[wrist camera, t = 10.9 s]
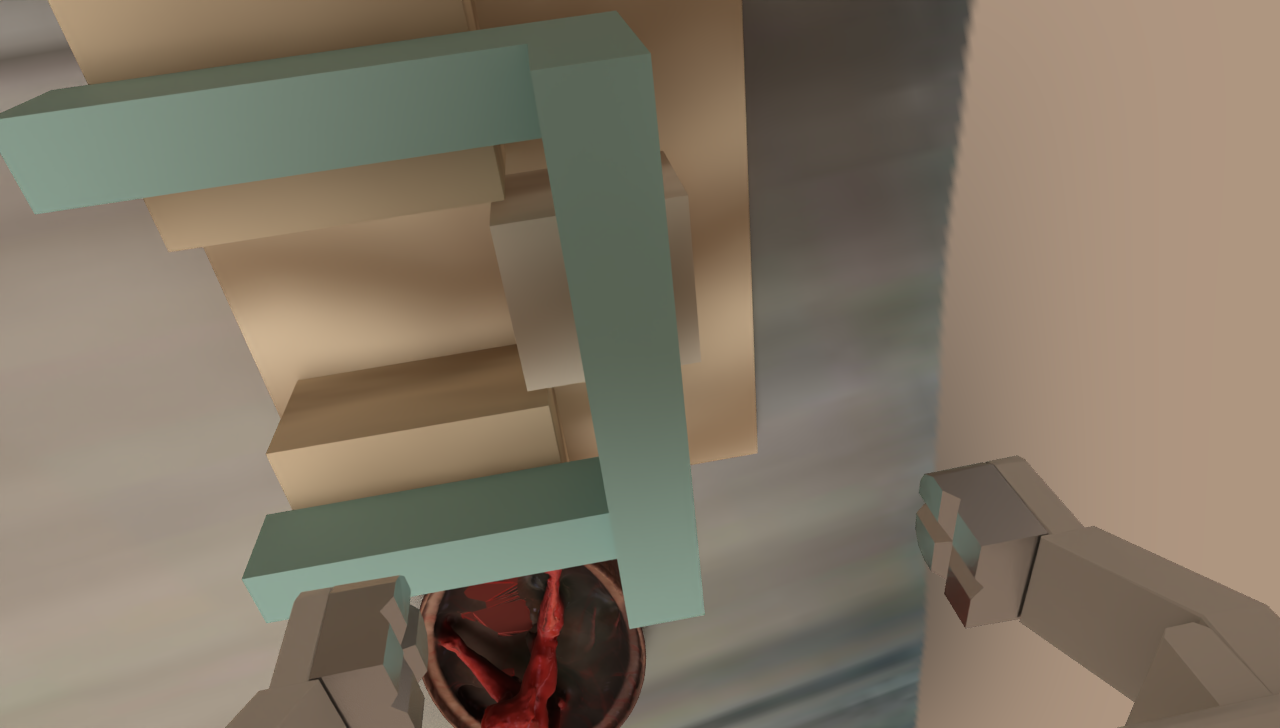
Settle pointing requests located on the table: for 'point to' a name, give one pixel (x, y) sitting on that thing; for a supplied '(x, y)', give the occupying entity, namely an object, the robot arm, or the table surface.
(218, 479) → the table surface
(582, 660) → the figurine
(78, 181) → the teal c-shaped bracket
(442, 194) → the display stand
